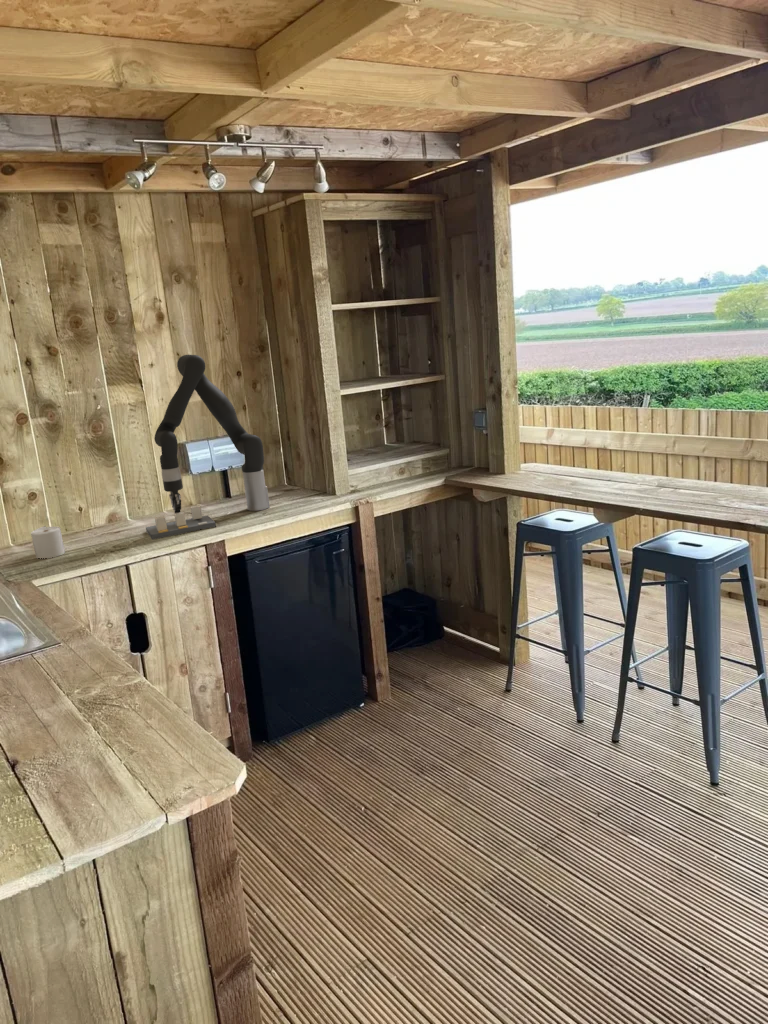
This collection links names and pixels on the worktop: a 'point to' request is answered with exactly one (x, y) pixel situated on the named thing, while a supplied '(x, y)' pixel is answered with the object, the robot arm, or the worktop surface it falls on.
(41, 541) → the toilet tissue
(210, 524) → the switch board
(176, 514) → the slider middle
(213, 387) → the robot arm
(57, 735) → the worktop surface
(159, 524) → the slider
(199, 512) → the slider
